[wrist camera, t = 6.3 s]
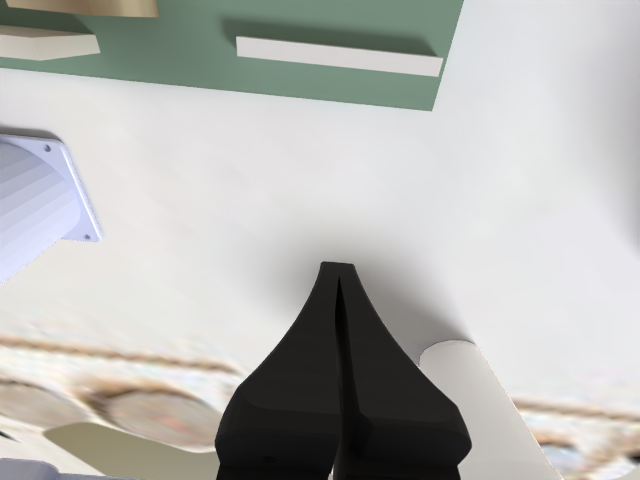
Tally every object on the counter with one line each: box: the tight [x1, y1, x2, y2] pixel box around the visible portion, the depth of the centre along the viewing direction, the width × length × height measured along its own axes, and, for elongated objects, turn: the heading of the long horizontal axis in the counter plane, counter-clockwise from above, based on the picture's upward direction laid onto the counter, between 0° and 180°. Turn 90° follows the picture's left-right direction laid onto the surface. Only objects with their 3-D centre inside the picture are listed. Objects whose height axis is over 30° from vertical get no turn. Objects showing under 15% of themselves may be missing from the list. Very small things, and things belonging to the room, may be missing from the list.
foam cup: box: [420, 340, 563, 480], centre depth 27 cm, size 10×9×13 cm
